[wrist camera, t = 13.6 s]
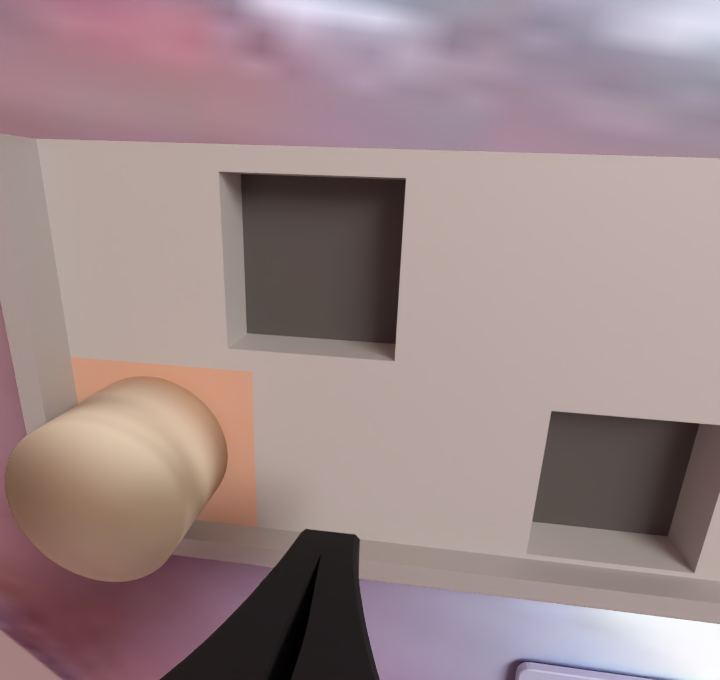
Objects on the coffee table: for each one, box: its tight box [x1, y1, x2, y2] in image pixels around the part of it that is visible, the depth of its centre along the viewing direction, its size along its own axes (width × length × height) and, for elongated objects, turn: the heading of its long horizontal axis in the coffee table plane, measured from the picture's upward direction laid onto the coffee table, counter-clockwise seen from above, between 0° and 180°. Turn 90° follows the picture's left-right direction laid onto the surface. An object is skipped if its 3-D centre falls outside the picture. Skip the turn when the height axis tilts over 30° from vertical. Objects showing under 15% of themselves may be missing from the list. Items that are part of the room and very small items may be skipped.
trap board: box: [0, 134, 720, 624], centre depth 15 cm, size 14×24×4 cm, turn 88°
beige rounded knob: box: [5, 376, 228, 582], centre depth 15 cm, size 5×5×4 cm
